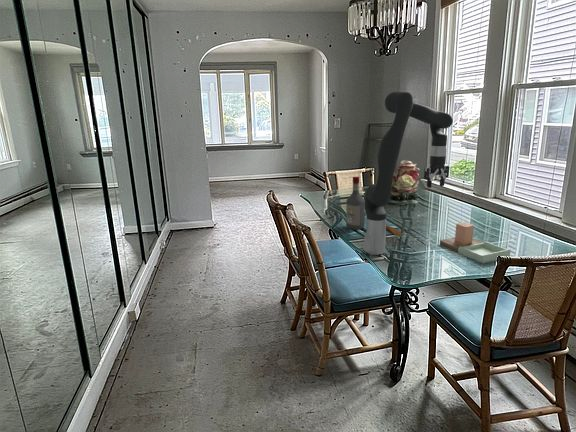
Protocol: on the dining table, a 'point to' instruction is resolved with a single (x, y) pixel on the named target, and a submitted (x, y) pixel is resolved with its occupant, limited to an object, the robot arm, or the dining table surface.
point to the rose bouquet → (405, 184)
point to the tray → (483, 252)
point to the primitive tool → (393, 231)
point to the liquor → (355, 208)
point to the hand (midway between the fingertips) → (435, 186)
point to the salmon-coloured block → (464, 233)
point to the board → (456, 244)
